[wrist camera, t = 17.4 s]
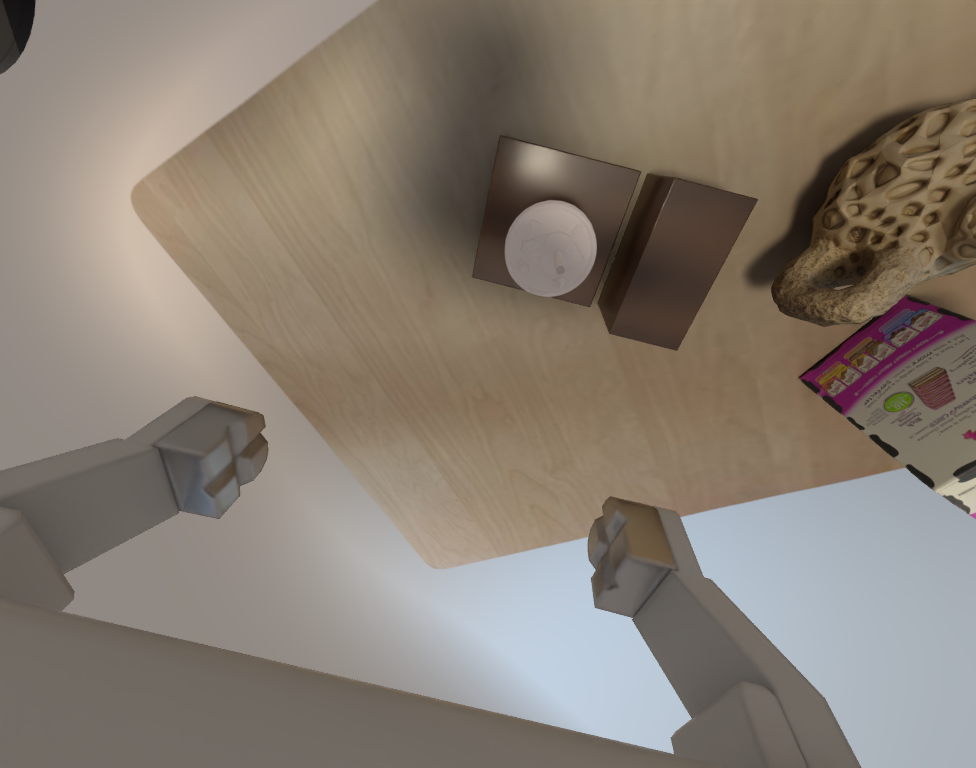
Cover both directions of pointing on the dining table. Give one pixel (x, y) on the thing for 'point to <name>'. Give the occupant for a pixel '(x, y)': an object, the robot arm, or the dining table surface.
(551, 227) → the smoothie
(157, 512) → the robot arm
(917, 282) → the teapot
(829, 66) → the dining table surface
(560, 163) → the step shelf
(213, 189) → the dining table surface
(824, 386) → the candy bar box
